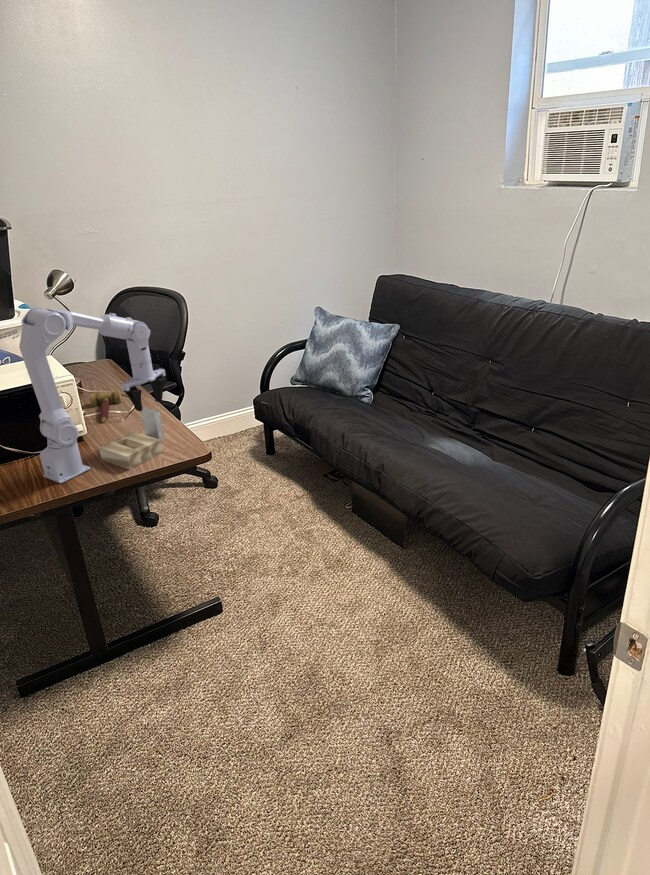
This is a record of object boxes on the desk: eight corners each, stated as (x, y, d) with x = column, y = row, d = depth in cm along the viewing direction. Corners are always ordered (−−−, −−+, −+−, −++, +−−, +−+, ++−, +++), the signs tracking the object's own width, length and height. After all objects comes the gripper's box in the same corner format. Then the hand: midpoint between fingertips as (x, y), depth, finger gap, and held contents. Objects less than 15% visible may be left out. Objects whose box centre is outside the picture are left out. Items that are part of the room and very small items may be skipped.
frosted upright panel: (159, 440, 182) (154, 413, 178) (145, 437, 185) (140, 409, 181) (164, 438, 183) (159, 410, 180) (150, 434, 186) (145, 407, 183)
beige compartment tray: (130, 469, 166) (127, 456, 164) (101, 460, 172) (98, 447, 170) (163, 452, 175) (160, 439, 173) (135, 443, 181) (132, 431, 179)
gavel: (117, 413, 196) (85, 417, 194) (120, 425, 198) (88, 430, 196) (119, 387, 214) (90, 391, 212) (122, 399, 216) (92, 403, 214)
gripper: (130, 371, 167) (139, 416, 172) (169, 356, 177) (176, 399, 183) (113, 367, 170) (122, 412, 176) (152, 353, 181) (160, 396, 187)
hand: (149, 405), depth 180 cm, fingers open, 7 cm apart
